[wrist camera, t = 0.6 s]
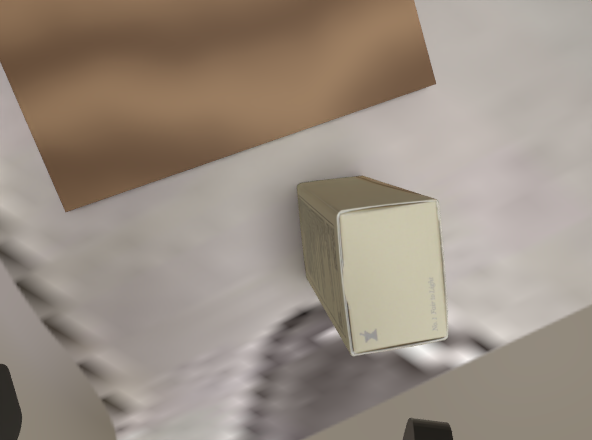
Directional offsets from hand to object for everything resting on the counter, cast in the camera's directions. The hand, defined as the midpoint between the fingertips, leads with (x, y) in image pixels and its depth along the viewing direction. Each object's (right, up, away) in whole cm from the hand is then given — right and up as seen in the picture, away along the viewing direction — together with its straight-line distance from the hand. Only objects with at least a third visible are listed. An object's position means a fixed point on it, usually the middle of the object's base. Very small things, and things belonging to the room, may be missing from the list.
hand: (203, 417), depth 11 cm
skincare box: (+4, +4, +23) cm, 24 cm away
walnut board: (-3, +15, +20) cm, 25 cm away
